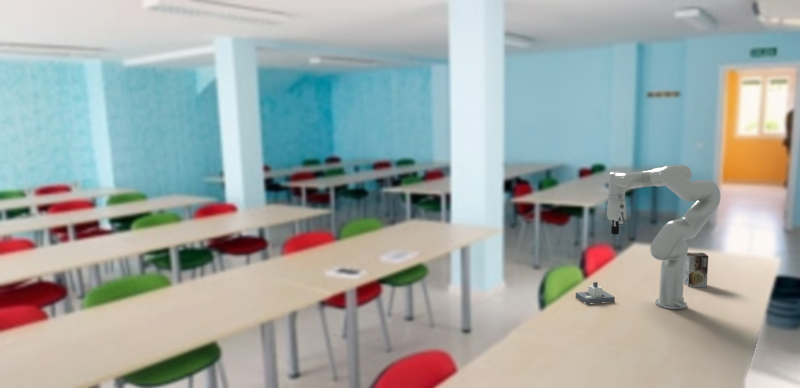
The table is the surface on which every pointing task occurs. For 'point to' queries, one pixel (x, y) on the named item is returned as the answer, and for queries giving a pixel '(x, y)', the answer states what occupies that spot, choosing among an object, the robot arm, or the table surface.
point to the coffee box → (696, 270)
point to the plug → (595, 290)
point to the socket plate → (588, 299)
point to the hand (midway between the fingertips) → (615, 233)
